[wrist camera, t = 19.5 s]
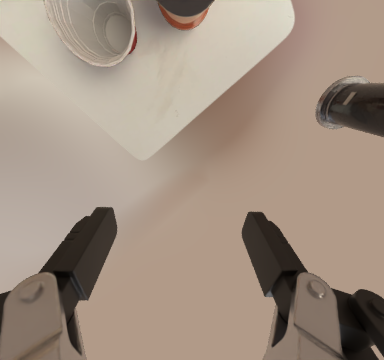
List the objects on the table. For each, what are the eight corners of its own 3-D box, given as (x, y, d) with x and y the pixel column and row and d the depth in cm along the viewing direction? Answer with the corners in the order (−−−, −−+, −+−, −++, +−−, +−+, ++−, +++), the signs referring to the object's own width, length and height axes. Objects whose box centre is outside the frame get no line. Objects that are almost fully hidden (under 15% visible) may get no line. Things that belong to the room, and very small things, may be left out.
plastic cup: (89, 59, 32) (45, 49, 21) (89, -19, 26) (30, -83, 16) (145, 79, 34) (129, 78, 23) (155, 11, 28) (140, -29, 18)
